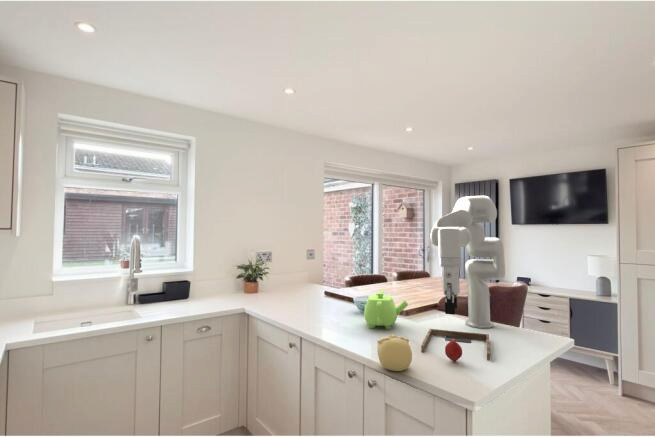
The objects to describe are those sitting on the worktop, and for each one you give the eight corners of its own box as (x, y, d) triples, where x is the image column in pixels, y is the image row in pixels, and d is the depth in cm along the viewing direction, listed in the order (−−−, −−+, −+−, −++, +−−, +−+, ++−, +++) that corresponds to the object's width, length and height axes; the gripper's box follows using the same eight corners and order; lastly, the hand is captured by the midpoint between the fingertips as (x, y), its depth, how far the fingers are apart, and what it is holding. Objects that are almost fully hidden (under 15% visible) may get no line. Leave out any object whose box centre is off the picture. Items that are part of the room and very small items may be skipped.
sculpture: (406, 360, 126) (406, 330, 126) (416, 374, 114) (415, 341, 114) (375, 361, 126) (374, 331, 126) (381, 375, 114) (381, 342, 114)
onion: (442, 362, 123) (441, 339, 123) (448, 357, 128) (448, 335, 128) (459, 366, 119) (458, 342, 120) (465, 360, 124) (464, 338, 124)
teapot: (409, 333, 157) (408, 297, 158) (362, 331, 162) (361, 297, 162) (408, 318, 182) (407, 288, 182) (367, 317, 186) (366, 287, 187)
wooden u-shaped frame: (429, 334, 155) (429, 328, 155) (489, 340, 145) (489, 334, 145) (421, 351, 134) (421, 345, 134) (490, 360, 124) (489, 353, 124)
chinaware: (349, 310, 202) (348, 297, 202) (371, 307, 208) (370, 294, 208) (362, 316, 188) (361, 302, 188) (385, 313, 194) (384, 299, 195)
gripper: (459, 265, 114) (461, 317, 114) (462, 259, 130) (464, 306, 130) (435, 264, 117) (437, 316, 117) (441, 259, 133) (442, 304, 133)
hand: (451, 310), depth 123 cm, fingers open, 8 cm apart
